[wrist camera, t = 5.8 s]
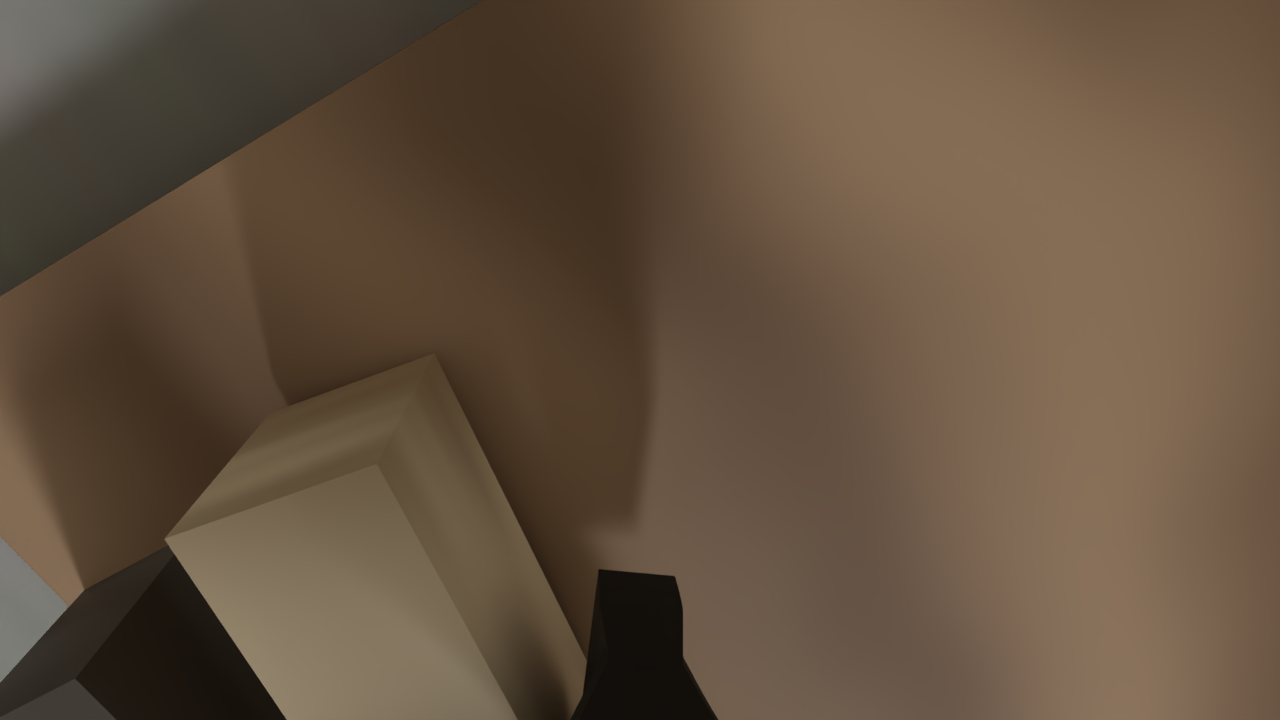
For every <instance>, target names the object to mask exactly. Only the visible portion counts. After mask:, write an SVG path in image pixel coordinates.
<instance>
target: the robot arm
mask: <svg viewBox="0 0 1280 720" xmlns="http://www.w3.org/2000/svg"><path fill="white" fill-rule="evenodd" d="M570 720H718V718H717V716H716V715H715V713H714V712H713V710H712V708H711V706H710V705H709V703H708V701H707V700H706V698H705V696H704V694H703V693H702V691H701V689H700V687H699V685H698V683H697V682H696V680H695V678H694V676H693V674H692V672H691V670H690V669H689V667H688V665H687V663H686V661H685V659H684V657H683V606H682V602H681V597H680V592H679V589H678V585H677V581H676V578H675V576H670V575H659V574H648V573H637V572H626V571H615V570H604V569H599V570H598V578H597V586H596V593H595V601H594V609H593V617H592V625H591V633H590V641H589V648H588V656H587V664H586V672H585V680H584V688H583V696H582V698H581V700H580V701H579V703H578V705H577V707H576V709H575V711H574V713H573V715H572V717H571V719H570Z"/></svg>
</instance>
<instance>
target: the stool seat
mask: <svg viewBox="0 0 1280 720" xmlns="http://www.w3.org/2000/svg"><path fill="white" fill-rule="evenodd" d="M433 353H434V354H435V356H436V358H437V360H438V362H439V364H440V366H441V368H442V370H443V372H444V374H445V376H446V378H447V380H448V382H449V384H450V386H451V388H452V390H453V392H454V394H455V396H456V398H457V400H458V402H459V404H460V406H461V408H462V410H463V412H464V414H465V416H466V418H467V420H468V422H469V424H470V426H471V428H472V430H473V432H474V434H475V436H476V438H477V440H478V442H479V444H480V446H481V448H482V450H483V452H484V454H485V456H486V458H487V460H488V463H489V465H490V467H491V469H492V471H493V473H494V475H495V477H496V479H497V481H498V483H499V485H500V487H501V489H502V491H503V493H504V495H505V497H506V499H507V501H508V503H509V505H510V507H511V509H512V511H513V513H514V515H515V517H516V519H517V521H518V523H519V525H520V527H521V529H522V531H523V533H524V535H525V537H526V539H527V541H528V543H529V545H530V547H531V549H532V551H533V553H534V555H535V557H536V559H537V561H538V563H539V565H540V567H541V569H542V571H543V574H544V576H545V578H546V580H547V582H548V584H549V586H550V588H551V590H552V592H553V594H554V596H555V598H556V600H557V602H558V604H559V606H560V608H561V610H562V612H563V614H564V616H565V618H566V620H567V622H568V624H569V626H570V628H571V630H572V632H573V634H574V636H575V638H576V640H577V642H578V644H579V646H580V648H581V650H582V652H583V654H584V656H585V658H586V660H587V656H588V648H589V641H590V633H591V625H592V617H593V609H594V601H595V593H596V586H597V578H598V570H599V569H604V570H615V571H626V572H637V573H648V574H659V575H670V576H675V578H676V581H677V585H678V589H679V592H680V597H681V602H682V606H683V657H684V659H685V661H686V663H687V665H688V667H689V669H690V670H691V672H692V674H693V676H694V678H695V680H696V682H697V683H698V685H699V687H700V689H701V691H702V693H703V694H704V696H705V698H706V700H707V701H708V703H709V705H710V706H711V708H712V710H713V712H714V713H715V715H716V716H717V718H718V720H1280V0H482V1H481V2H479V3H477V4H476V5H474V6H472V7H471V8H469V9H468V10H466V11H464V12H463V13H461V14H459V15H458V16H456V17H455V18H453V19H451V20H450V21H448V22H446V23H445V24H443V25H441V26H440V27H438V28H437V29H435V30H433V31H432V32H430V33H428V34H427V35H425V36H424V37H422V38H420V39H419V40H417V41H415V42H414V43H412V44H411V45H409V46H407V47H406V48H404V49H402V50H401V51H399V52H397V53H396V54H394V55H393V56H391V57H389V58H388V59H386V60H384V61H383V62H381V63H380V64H378V65H376V66H375V67H373V68H371V69H370V70H368V71H367V72H365V73H363V74H362V75H360V76H358V77H357V78H355V79H354V80H352V81H350V82H349V83H347V84H345V85H344V86H342V87H340V88H339V89H337V90H336V91H334V92H332V93H331V94H329V95H327V96H326V97H324V98H323V99H321V100H319V101H318V102H316V103H314V104H313V105H311V106H310V107H308V108H306V109H305V110H303V111H301V112H300V113H298V114H297V115H295V116H293V117H292V118H290V119H288V120H287V121H285V122H283V123H282V124H280V125H279V126H277V127H275V128H274V129H272V130H270V131H269V132H267V133H266V134H264V135H262V136H261V137H259V138H257V139H256V140H254V141H253V142H251V143H249V144H248V145H246V146H244V147H243V148H241V149H240V150H238V151H236V152H235V153H233V154H231V155H230V156H228V157H226V158H225V159H223V160H222V161H220V162H218V163H217V164H215V165H213V166H212V167H210V168H209V169H207V170H205V171H204V172H202V173H200V174H199V175H197V176H196V177H194V178H192V179H191V180H189V181H187V182H186V183H184V184H182V185H181V186H179V187H178V188H176V189H174V190H173V191H171V192H169V193H168V194H166V195H165V196H163V197H161V198H160V199H158V200H156V201H155V202H153V203H152V204H150V205H148V206H147V207H145V208H143V209H142V210H140V211H139V212H137V213H135V214H134V215H132V216H130V217H129V218H127V219H125V220H124V221H122V222H121V223H119V224H117V225H116V226H114V227H112V228H111V229H109V230H108V231H106V232H104V233H103V234H101V235H99V236H98V237H96V238H95V239H93V240H91V241H90V242H88V243H86V244H85V245H83V246H82V247H80V248H78V249H77V250H75V251H73V252H72V253H70V254H68V255H67V256H65V257H64V258H62V259H60V260H59V261H57V262H55V263H54V264H52V265H51V266H49V267H47V268H46V269H44V270H42V271H41V272H39V273H38V274H36V275H34V276H33V277H31V278H29V279H28V280H26V281H25V282H23V283H21V284H20V285H18V286H16V287H15V288H13V289H11V290H10V291H8V292H7V293H5V294H3V295H2V296H0V536H1V537H2V539H3V540H4V541H5V542H6V543H7V544H8V545H9V546H10V547H11V548H12V549H13V550H14V551H15V552H16V553H17V554H18V555H19V556H20V557H21V558H22V559H23V560H24V561H25V562H26V563H27V564H28V565H29V566H30V567H31V568H32V569H33V570H34V571H35V572H36V573H37V574H38V575H39V576H40V577H41V578H42V580H43V581H44V582H45V583H46V584H47V585H48V586H49V587H50V588H51V589H52V590H53V591H54V592H55V593H56V594H57V595H58V596H59V597H60V598H61V599H62V600H63V601H64V602H65V603H66V604H67V605H68V606H69V607H68V609H67V610H66V611H65V612H64V613H63V614H62V615H61V616H60V617H59V618H58V620H57V621H56V622H55V623H54V624H53V625H52V626H51V627H50V628H49V630H48V631H47V632H46V633H45V634H44V635H43V636H42V637H41V638H40V640H39V641H38V642H37V643H36V644H35V645H34V646H33V647H32V648H31V649H30V651H29V652H28V653H27V654H26V655H25V656H24V657H23V658H22V659H21V661H20V662H19V663H18V664H17V665H16V666H15V667H14V668H13V669H12V671H11V672H10V673H9V674H8V675H7V676H6V677H5V678H4V679H3V680H2V682H1V683H0V720H287V719H286V718H285V716H284V715H283V714H282V712H281V711H280V709H279V708H278V706H277V705H276V703H275V702H274V700H273V699H272V697H271V696H270V694H269V693H268V691H267V690H266V688H265V687H264V685H263V684H262V683H261V681H260V680H259V678H258V677H257V675H256V674H255V672H254V671H253V669H252V668H251V666H250V665H249V663H248V662H247V660H246V659H245V657H244V656H243V654H242V653H241V652H240V650H239V649H238V647H237V646H236V644H235V643H234V641H233V640H232V638H231V637H230V635H229V634H228V632H227V631H226V629H225V628H224V626H223V625H222V623H221V622H220V621H219V619H218V618H217V616H216V615H215V613H214V612H213V610H212V609H211V607H210V606H209V604H208V603H207V601H206V600H205V598H204V597H203V595H202V594H201V592H200V591H199V590H198V588H197V587H196V585H195V584H194V582H193V581H192V579H191V578H190V576H189V575H188V573H187V572H186V570H185V569H184V567H183V566H182V564H181V563H180V562H179V560H178V559H177V557H176V556H175V554H174V553H173V551H172V550H171V548H170V547H169V545H168V544H167V542H166V541H165V537H166V536H167V535H168V534H169V533H170V531H171V530H172V529H173V528H174V527H175V525H176V524H177V523H178V522H179V521H180V520H181V518H182V517H183V516H184V515H185V514H186V512H187V511H188V510H189V509H190V508H191V506H192V505H193V504H194V503H195V502H196V500H197V499H198V498H199V497H200V496H201V495H202V493H203V492H204V491H205V490H206V489H207V487H208V486H209V485H210V484H211V483H212V481H213V480H214V479H215V478H216V477H217V476H218V474H219V473H220V472H221V471H222V470H223V468H224V467H225V466H226V465H227V464H228V462H229V461H230V460H231V459H232V458H233V456H234V455H235V454H236V453H237V452H238V451H239V449H240V448H241V447H242V446H243V445H244V443H245V442H246V441H247V440H248V439H249V437H250V436H251V435H252V434H253V433H254V431H255V430H256V429H257V428H258V427H259V426H260V424H261V423H262V422H263V421H264V420H265V418H266V417H267V416H268V415H269V414H270V413H272V412H274V411H277V410H280V409H283V408H285V407H288V406H291V405H294V404H296V403H299V402H302V401H304V400H307V399H310V398H313V397H315V396H318V395H321V394H324V393H326V392H329V391H332V390H335V389H337V388H340V387H343V386H346V385H348V384H351V383H354V382H357V381H359V380H362V379H365V378H368V377H370V376H373V375H376V374H378V373H381V372H384V371H387V370H389V369H392V368H395V367H398V366H400V365H403V364H406V363H409V362H411V361H414V360H417V359H420V358H422V357H425V356H428V355H431V354H433Z"/></svg>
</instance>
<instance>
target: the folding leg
mask: <svg viewBox="0 0 1280 720" xmlns="http://www.w3.org/2000/svg"><path fill="white" fill-rule="evenodd" d="M165 541H166V542H167V544H168V545H169V547H170V548H171V550H172V551H173V553H174V554H175V556H176V557H177V559H178V560H179V562H180V563H181V564H182V566H183V567H184V569H185V570H186V572H187V573H188V575H189V576H190V578H191V579H192V581H193V582H194V584H195V585H196V587H197V588H198V590H199V591H200V592H201V594H202V595H203V597H204V598H205V600H206V601H207V603H208V604H209V606H210V607H211V609H212V610H213V612H214V613H215V615H216V616H217V618H218V619H219V621H220V622H221V623H222V625H223V626H224V628H225V629H226V631H227V632H228V634H229V635H230V637H231V638H232V640H233V641H234V643H235V644H236V646H237V647H238V649H239V650H240V652H241V653H242V654H243V656H244V657H245V659H246V660H247V662H248V663H249V665H250V666H251V668H252V669H253V671H254V672H255V674H256V675H257V677H258V678H259V680H260V681H261V683H262V684H263V685H264V687H265V688H266V690H267V691H268V693H269V694H270V696H271V697H272V699H273V700H274V702H275V703H276V705H277V706H278V708H279V709H280V711H281V712H282V714H283V715H284V716H285V718H286V719H287V720H570V719H571V717H572V715H573V713H574V711H575V709H576V707H577V705H578V703H579V701H580V700H581V698H582V696H583V688H584V680H585V672H586V664H587V660H586V658H585V656H584V654H583V652H582V650H581V648H580V646H579V644H578V642H577V640H576V638H575V636H574V634H573V632H572V630H571V628H570V626H569V624H568V622H567V620H566V618H565V616H564V614H563V612H562V610H561V608H560V606H559V604H558V602H557V600H556V598H555V596H554V594H553V592H552V590H551V588H550V586H549V584H548V582H547V580H546V578H545V576H544V574H543V571H542V569H541V567H540V565H539V563H538V561H537V559H536V557H535V555H534V553H533V551H532V549H531V547H530V545H529V543H528V541H527V539H526V537H525V535H524V533H523V531H522V529H521V527H520V525H519V523H518V521H517V519H516V517H515V515H514V513H513V511H512V509H511V507H510V505H509V503H508V501H507V499H506V497H505V495H504V493H503V491H502V489H501V487H500V485H499V483H498V481H497V479H496V477H495V475H494V473H493V471H492V469H491V467H490V465H489V463H488V460H487V458H486V456H485V454H484V452H483V450H482V448H481V446H480V444H479V442H478V440H477V438H476V436H475V434H474V432H473V430H472V428H471V426H470V424H469V422H468V420H467V418H466V416H465V414H464V412H463V410H462V408H461V406H460V404H459V402H458V400H457V398H456V396H455V394H454V392H453V390H452V388H451V386H450V384H449V382H448V380H447V378H446V376H445V374H444V372H443V370H442V368H441V366H440V364H439V362H438V360H437V358H436V356H435V354H434V353H433V354H431V355H428V356H425V357H422V358H420V359H417V360H414V361H411V362H409V363H406V364H403V365H400V366H398V367H395V368H392V369H389V370H387V371H384V372H381V373H378V374H376V375H373V376H370V377H368V378H365V379H362V380H359V381H357V382H354V383H351V384H348V385H346V386H343V387H340V388H337V389H335V390H332V391H329V392H326V393H324V394H321V395H318V396H315V397H313V398H310V399H307V400H304V401H302V402H299V403H296V404H294V405H291V406H288V407H285V408H283V409H280V410H277V411H274V412H272V413H270V414H269V415H268V416H267V417H266V418H265V420H264V421H263V422H262V423H261V424H260V426H259V427H258V428H257V429H256V430H255V431H254V433H253V434H252V435H251V436H250V437H249V439H248V440H247V441H246V442H245V443H244V445H243V446H242V447H241V448H240V449H239V451H238V452H237V453H236V454H235V455H234V456H233V458H232V459H231V460H230V461H229V462H228V464H227V465H226V466H225V467H224V468H223V470H222V471H221V472H220V473H219V474H218V476H217V477H216V478H215V479H214V480H213V481H212V483H211V484H210V485H209V486H208V487H207V489H206V490H205V491H204V492H203V493H202V495H201V496H200V497H199V498H198V499H197V500H196V502H195V503H194V504H193V505H192V506H191V508H190V509H189V510H188V511H187V512H186V514H185V515H184V516H183V517H182V518H181V520H180V521H179V522H178V523H177V524H176V525H175V527H174V528H173V529H172V530H171V531H170V533H169V534H168V535H167V536H166V537H165Z"/></svg>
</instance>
